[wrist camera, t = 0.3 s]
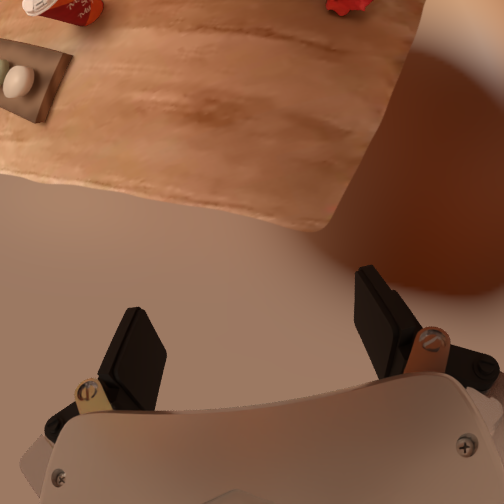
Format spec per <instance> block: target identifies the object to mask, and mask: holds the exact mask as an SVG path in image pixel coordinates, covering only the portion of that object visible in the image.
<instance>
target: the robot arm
mask: <svg viewBox="0 0 504 504" xmlns="http://www.w3.org/2000/svg"><path fill="white" fill-rule="evenodd" d="M354 323H355V326H356V328H357V331H358V333H359V335H360V337H361V339H362V342H363V344H364V346H365V348H366V351H367V353H368V355H369V357H370V360H371V362H372V364H373V366H374V369H375V371H376V374H377V376H378V378H379V380H376V381H372V382H368V383H365V384H361V385H357V386H353V387H349V388H344V389H340V390H336V391H332V392H327V393H323V394H318V395H313V396H308V397H303V398H297V399H292V400H286V401H280V402H274V403H266V404H259V405H251V406H243V407H232V408H221V409H206V410H184V411H154V410H155V406H156V401H157V396H158V392H159V387H160V383H161V379H162V375H163V370H164V366H165V362H166V358H167V353H166V350H165V348H164V346H163V344H162V342H161V340H160V339H159V337H158V335H157V333H156V331H155V329H154V327H153V325H152V324H151V322H150V320H149V318H148V316H147V314H146V312H145V310H143V309H141V308H140V307H133V308H128V309H127V310H126V312H125V314H124V316H123V318H122V320H121V322H120V324H119V326H118V328H117V331H116V333H115V335H114V337H113V339H112V341H111V344H110V346H109V348H108V350H107V353H106V355H105V357H104V359H103V362H102V364H101V366H100V369H99V371H98V375H99V377H98V380H97V379H94V378H90V379H86V380H84V381H83V382H81V383H80V384H79V385H78V387H77V388H76V390H75V394H74V396H75V402H73V403H72V404H70V405H69V406H67V407H66V408H64V409H63V410H61V411H60V412H58V413H57V414H55V415H54V416H52V417H51V418H50V419H49V420H48V421H47V423H46V425H45V430H44V431H45V436H43V435H41V436H40V437H39V438H38V439H37V440H36V441H35V442H34V443H33V445H32V446H31V447H30V448H29V449H28V450H27V451H26V453H25V454H24V455H23V456H22V458H21V460H20V469H21V471H22V473H23V474H24V476H25V478H26V479H27V481H28V482H29V484H30V485H31V487H32V488H33V490H34V491H35V492H36V494H37V495H38V497H39V498H40V502H39V504H504V373H503V372H501V371H500V368H499V365H498V363H497V361H496V360H495V359H494V358H493V357H491V356H489V355H487V354H483V353H479V352H475V351H472V350H469V349H465V348H462V347H458V346H454V345H451V344H450V337H449V335H448V334H447V333H446V332H445V331H444V330H442V329H441V328H438V327H426V328H422V326H421V325H420V324H419V322H418V321H417V319H416V318H415V316H414V315H413V313H412V312H411V310H410V309H409V308H408V306H407V305H406V304H405V302H404V301H403V299H402V298H401V297H400V295H399V294H398V293H397V292H396V291H395V290H391V289H390V288H389V286H388V285H387V284H386V282H385V281H384V279H383V278H382V277H381V276H380V274H379V273H378V271H377V270H376V269H375V268H374V266H373V265H368V266H363V267H360V268H359V271H356V272H355V305H354Z"/></svg>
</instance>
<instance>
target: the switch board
mask: <svg viewBox="0 0 504 504" xmlns="http://www.w3.org/2000/svg"><path fill="white" fill-rule="evenodd" d="M71 58H72V55H69V54H66V53H62V52H59V51H55V50H51V49H48V48H44V47H40V46H35V45H31V44H27V43H22V42H17V41H12V40H7V39H1V38H0V59H5V60H7V61H8V62H9V70H10V69H11V68H13V67H14V66H29V67H31V68H32V69H33V71H34V82H33V85H32V87H31V89H30V91H29V92H28V93H27V94H26V95H25V96H23V97H15V98H7V97H6V96H5V95H4V92H3V84H2V85H1V86H0V107H1V108H3V109H6V110H8V111H10V112H12V113H14V114H16V115H18V116H20V117H22V118H25V119H27V120H29V121H31V122H33V123H40V122H45V121H46V118H47V115H48V112H49V109H50V107H51V104H52V101H53V99H54V96H55V94H56V91H57V89H58V86H59V84H60V82H61V80H62V77H63V75H64V73H65V71H66V69H67V66H68V64H69V62H70V60H71Z"/></svg>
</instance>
